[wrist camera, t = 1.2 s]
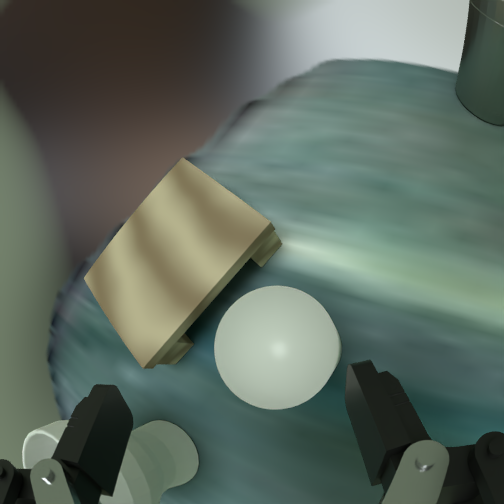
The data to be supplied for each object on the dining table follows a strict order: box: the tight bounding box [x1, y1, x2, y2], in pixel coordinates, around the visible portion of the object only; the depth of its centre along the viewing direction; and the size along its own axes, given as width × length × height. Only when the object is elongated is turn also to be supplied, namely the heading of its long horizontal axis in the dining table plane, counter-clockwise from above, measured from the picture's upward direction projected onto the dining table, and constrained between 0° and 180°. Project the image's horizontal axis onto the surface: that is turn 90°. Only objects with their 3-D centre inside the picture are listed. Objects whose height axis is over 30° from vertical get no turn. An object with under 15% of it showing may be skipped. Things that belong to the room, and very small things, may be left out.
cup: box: [22, 420, 199, 504], centre depth 19 cm, size 11×11×15 cm
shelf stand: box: [84, 158, 282, 368], centre depth 29 cm, size 16×12×6 cm
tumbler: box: [214, 286, 342, 409], centre depth 20 cm, size 6×6×13 cm
